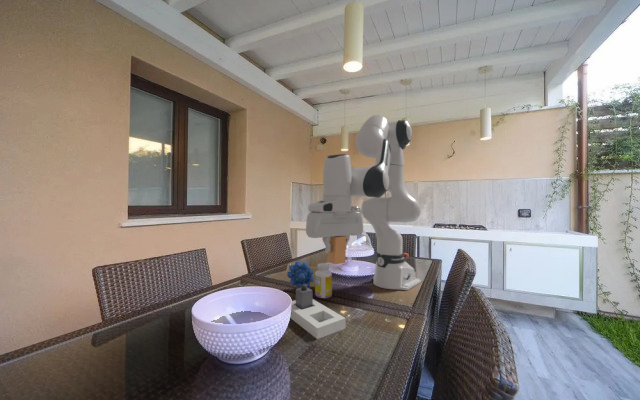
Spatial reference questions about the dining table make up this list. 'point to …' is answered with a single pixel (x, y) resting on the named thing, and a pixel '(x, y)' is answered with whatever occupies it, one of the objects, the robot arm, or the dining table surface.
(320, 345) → the dining table surface
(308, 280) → the grapes
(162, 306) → the dining table surface
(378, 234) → the robot arm
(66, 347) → the dining table surface
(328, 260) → the plug
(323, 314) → the light grey socket block
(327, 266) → the supplement bottle
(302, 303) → the twin plug
